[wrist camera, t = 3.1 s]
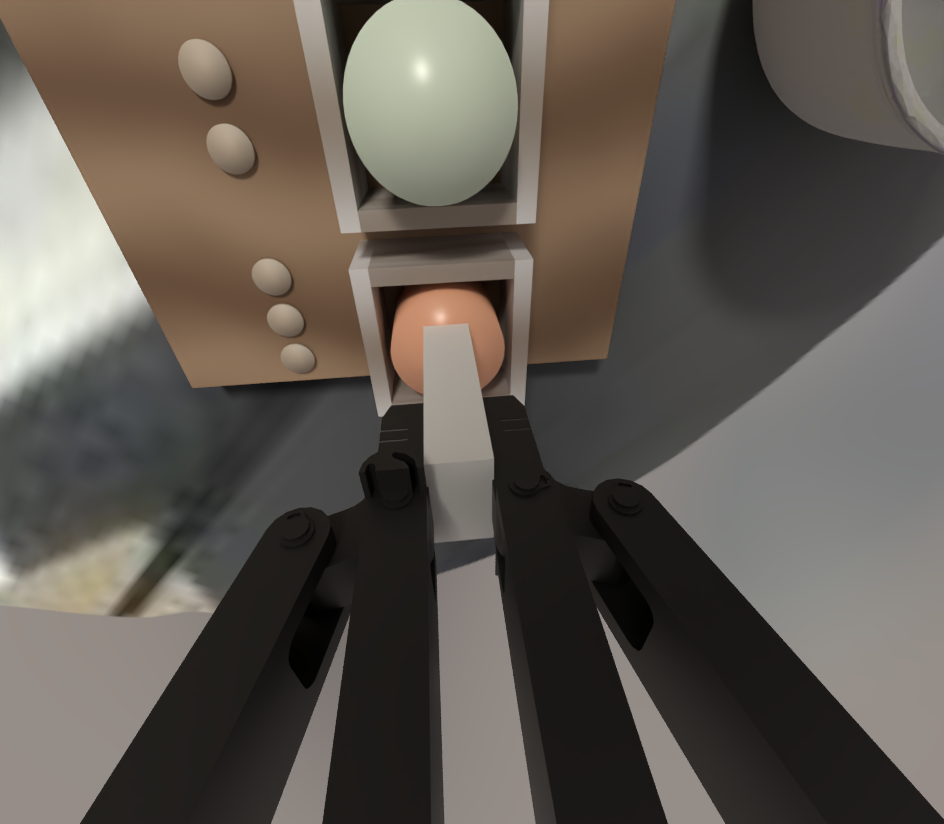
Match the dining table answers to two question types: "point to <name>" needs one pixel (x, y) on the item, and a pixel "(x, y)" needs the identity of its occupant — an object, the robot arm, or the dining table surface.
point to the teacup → (858, 66)
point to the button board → (344, 178)
